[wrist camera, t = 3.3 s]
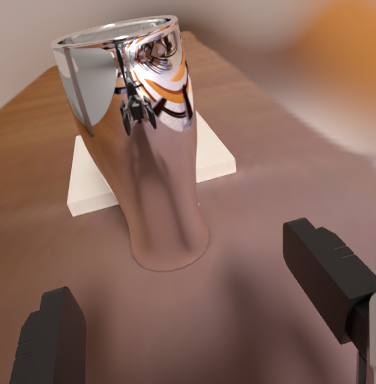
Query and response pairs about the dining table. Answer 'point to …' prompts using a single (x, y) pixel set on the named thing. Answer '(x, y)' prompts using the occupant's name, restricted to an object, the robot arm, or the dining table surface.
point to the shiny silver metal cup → (140, 131)
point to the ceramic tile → (100, 192)
